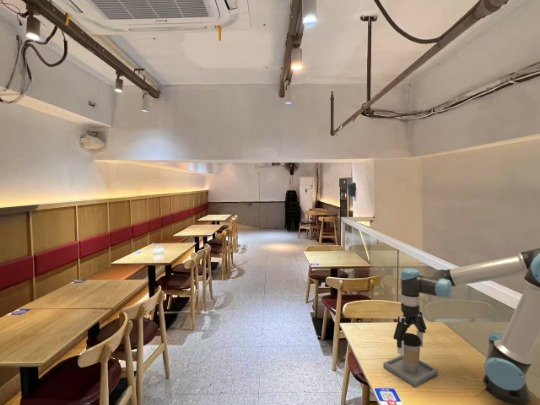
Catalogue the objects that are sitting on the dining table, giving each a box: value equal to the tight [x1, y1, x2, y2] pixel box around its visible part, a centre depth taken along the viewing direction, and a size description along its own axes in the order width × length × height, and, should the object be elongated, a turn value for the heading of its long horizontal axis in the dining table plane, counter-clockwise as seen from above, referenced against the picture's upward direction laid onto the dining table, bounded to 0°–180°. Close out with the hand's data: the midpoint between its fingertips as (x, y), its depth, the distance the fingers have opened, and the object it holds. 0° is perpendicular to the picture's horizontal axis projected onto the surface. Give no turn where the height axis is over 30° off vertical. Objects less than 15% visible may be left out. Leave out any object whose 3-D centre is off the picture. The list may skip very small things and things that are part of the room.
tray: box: [382, 354, 439, 388], centre depth 135 cm, size 16×16×2 cm
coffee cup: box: [400, 332, 422, 373], centre depth 135 cm, size 9×9×15 cm
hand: (410, 350), depth 134 cm, fingers open, 13 cm apart
